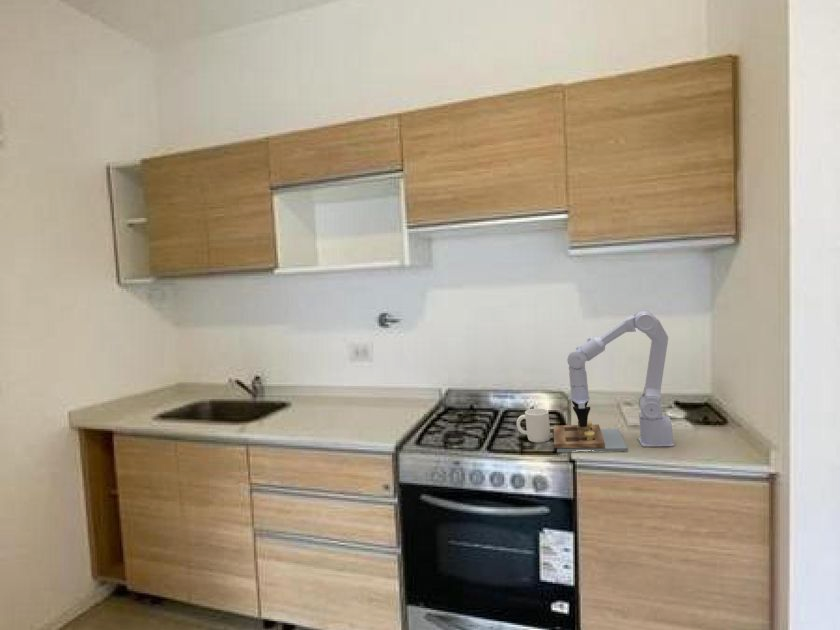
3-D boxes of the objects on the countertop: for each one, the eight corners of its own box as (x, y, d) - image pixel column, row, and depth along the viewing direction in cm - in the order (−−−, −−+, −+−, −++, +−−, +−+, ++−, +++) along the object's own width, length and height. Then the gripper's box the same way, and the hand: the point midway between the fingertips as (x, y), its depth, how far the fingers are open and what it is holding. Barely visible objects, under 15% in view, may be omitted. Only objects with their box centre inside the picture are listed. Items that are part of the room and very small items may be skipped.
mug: (515, 442, 174) (512, 414, 174) (520, 434, 182) (518, 408, 181) (548, 443, 169) (545, 415, 168) (552, 435, 176) (550, 408, 176)
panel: (599, 428, 175) (597, 413, 174) (605, 447, 155) (603, 431, 155) (554, 429, 179) (552, 415, 179) (554, 448, 160) (552, 432, 159)
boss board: (619, 431, 173) (618, 417, 173) (627, 451, 154) (626, 436, 153) (556, 433, 179) (555, 419, 178) (557, 452, 160) (555, 437, 159)
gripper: (566, 381, 174) (569, 417, 174) (567, 390, 160) (571, 430, 160) (586, 379, 172) (590, 416, 172) (589, 389, 158) (593, 429, 158)
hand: (582, 423), depth 166 cm, fingers open, 7 cm apart
